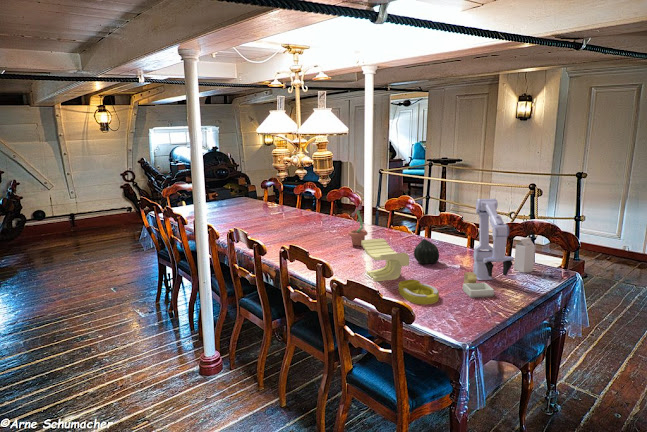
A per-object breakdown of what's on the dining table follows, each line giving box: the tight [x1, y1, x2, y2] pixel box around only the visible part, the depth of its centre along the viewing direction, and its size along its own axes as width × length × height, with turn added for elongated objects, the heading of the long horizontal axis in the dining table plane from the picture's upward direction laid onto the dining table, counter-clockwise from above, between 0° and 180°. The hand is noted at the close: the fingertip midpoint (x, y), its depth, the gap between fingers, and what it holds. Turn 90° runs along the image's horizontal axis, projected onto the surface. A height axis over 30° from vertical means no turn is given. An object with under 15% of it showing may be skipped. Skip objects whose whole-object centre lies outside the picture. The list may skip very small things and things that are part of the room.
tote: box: [462, 282, 495, 298], centre depth 207 cm, size 10×12×4 cm
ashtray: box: [398, 278, 440, 305], centre depth 205 cm, size 16×21×5 cm
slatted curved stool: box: [361, 238, 410, 282], centre depth 232 cm, size 30×16×18 cm, turn 15°
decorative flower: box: [347, 203, 369, 247], centre depth 295 cm, size 15×14×30 cm
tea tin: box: [463, 271, 477, 284], centre depth 216 cm, size 4×4×7 cm
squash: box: [413, 238, 440, 265], centre depth 255 cm, size 14×15×15 cm
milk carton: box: [513, 237, 536, 274], centre depth 236 cm, size 7×7×19 cm
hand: (497, 275), depth 204 cm, fingers open, 7 cm apart
